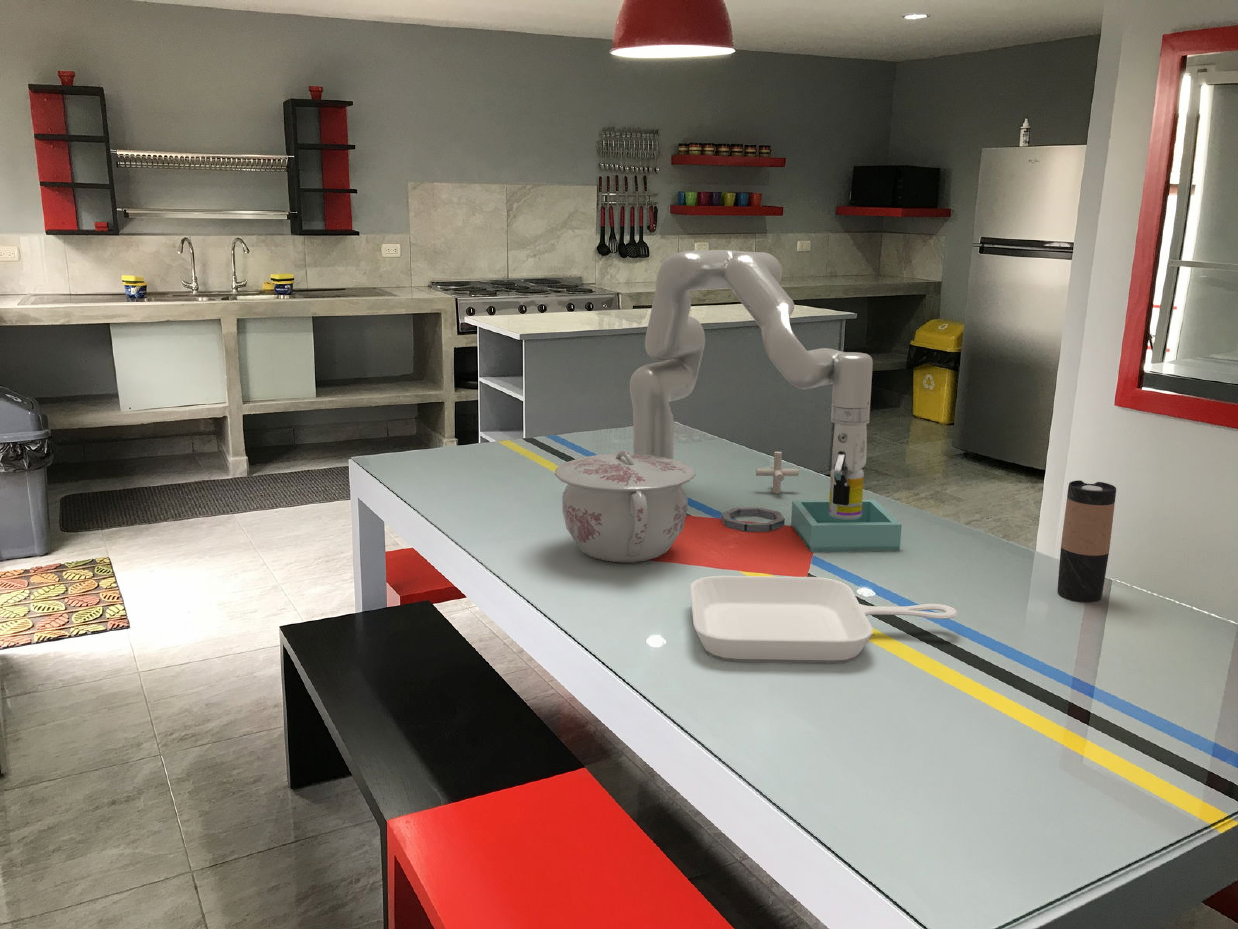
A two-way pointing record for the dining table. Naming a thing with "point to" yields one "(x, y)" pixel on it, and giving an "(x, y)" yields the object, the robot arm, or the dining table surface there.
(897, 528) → the bin
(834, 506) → the supplement bottle
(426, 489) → the dining table surface
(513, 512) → the dining table surface
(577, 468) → the chamber pot
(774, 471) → the pipe connector
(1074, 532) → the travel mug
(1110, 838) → the dining table surface
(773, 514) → the collar
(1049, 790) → the dining table surface
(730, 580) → the pan
